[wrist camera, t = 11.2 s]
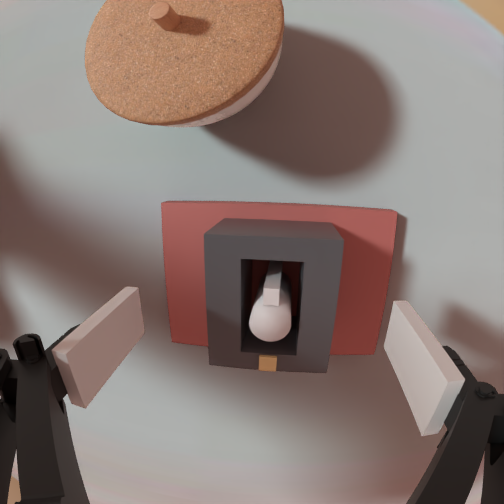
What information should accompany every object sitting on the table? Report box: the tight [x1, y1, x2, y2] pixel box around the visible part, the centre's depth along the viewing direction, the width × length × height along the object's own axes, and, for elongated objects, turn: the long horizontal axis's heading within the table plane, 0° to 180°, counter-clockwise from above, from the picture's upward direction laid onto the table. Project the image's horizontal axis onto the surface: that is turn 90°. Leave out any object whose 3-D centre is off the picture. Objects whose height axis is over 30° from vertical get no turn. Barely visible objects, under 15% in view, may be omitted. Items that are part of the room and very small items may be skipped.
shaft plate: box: [161, 201, 397, 355], centre depth 19 cm, size 16×11×7 cm
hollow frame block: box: [204, 218, 344, 373], centre depth 18 cm, size 8×7×5 cm
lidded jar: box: [85, 0, 284, 127], centre depth 14 cm, size 11×11×9 cm
